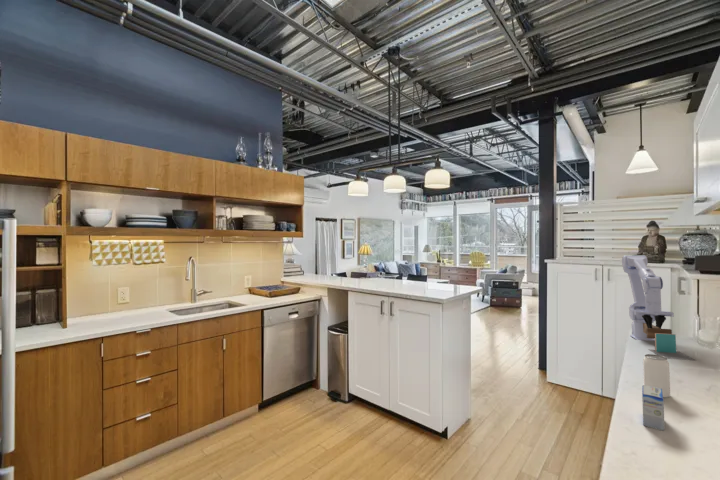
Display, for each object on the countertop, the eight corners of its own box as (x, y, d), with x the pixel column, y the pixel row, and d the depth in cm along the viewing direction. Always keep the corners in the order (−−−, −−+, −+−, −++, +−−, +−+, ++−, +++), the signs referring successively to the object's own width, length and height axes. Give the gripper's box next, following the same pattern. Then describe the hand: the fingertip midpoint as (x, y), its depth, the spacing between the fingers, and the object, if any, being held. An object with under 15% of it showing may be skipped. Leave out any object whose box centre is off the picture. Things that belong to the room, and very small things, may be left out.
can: (639, 392, 113) (638, 355, 113) (650, 388, 116) (649, 352, 116) (663, 399, 107) (662, 361, 108) (674, 395, 110) (673, 358, 110)
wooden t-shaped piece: (635, 331, 171) (635, 322, 171) (657, 333, 168) (657, 323, 168) (648, 338, 158) (647, 328, 158) (672, 339, 155) (671, 329, 155)
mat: (648, 350, 156) (648, 349, 156) (679, 352, 153) (679, 351, 153) (662, 359, 144) (662, 357, 144) (696, 361, 141) (696, 360, 141)
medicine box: (642, 414, 98) (641, 384, 99) (663, 419, 96) (662, 388, 96) (643, 426, 92) (641, 393, 93) (665, 431, 90) (664, 398, 90)
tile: (655, 350, 154) (654, 333, 154) (674, 352, 152) (674, 334, 152) (656, 351, 153) (656, 333, 153) (676, 352, 150) (675, 334, 151)
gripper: (638, 303, 161) (639, 332, 160) (676, 304, 156) (677, 334, 156) (631, 300, 167) (632, 328, 167) (668, 301, 163) (669, 330, 162)
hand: (654, 331), depth 162 cm, fingers closed on wooden t-shaped piece, 2 cm apart
